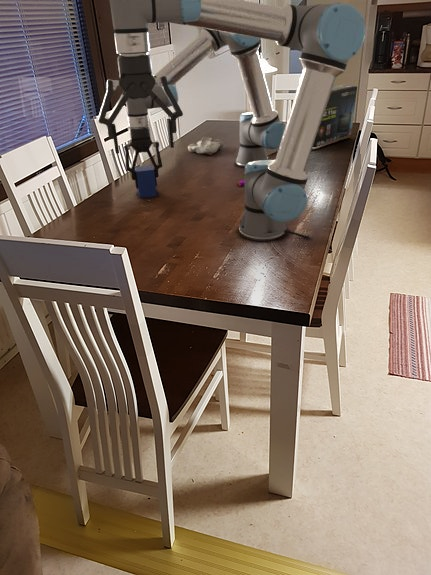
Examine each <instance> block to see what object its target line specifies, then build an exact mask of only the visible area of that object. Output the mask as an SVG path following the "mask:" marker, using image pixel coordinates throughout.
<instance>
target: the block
mask: <svg viewBox="0 0 431 575" xmlns="http://www.w3.org/2000/svg"><path fill="white" fill-rule="evenodd" d="M153 168H154V166H153V164H147V165H139V166H135V170H134V171H136V174H137V182H138V189H136V190H137V194H138V197H139V199H144V198H152V197H157V196H158V193H157V192H158V191H157V186H156V183H155V174H154V169H153Z"/></svg>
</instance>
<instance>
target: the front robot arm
mask: <svg viewBox="0 0 431 575" xmlns="http://www.w3.org/2000/svg"><path fill="white" fill-rule="evenodd" d="M109 6H110V10H111V11H110V13H111V20H112V26H113V32H114V34H113V35H114V43H115V50H116V51H115V52H116V54H119V55H118V56H117V65H118V72H119V79H118V80H115V79H111V78H107V80H106V91H105V94H104V97H103V102H102V104H101V107H100V111H99V114H98V118H97V121H98V123H99V124H102V125H105V126H106V130H107V136H108V138H109V140H113V145H114V151H115V154H116V155H117V154H118V155H119V154H120V149H119V142H118V135H117V134H118V133H117V128H116V124H115V123H114V122H115V120H116V118H117V117H118V115H119V114H120V112H121V110H122V109H123V107H124V105H125V104H126V102H127V100H128V98H131V99H138V98H142V99H144V98H147V97H148V96H150V97H151V98H152V99H153V100H154V101H155V102H156V103H157V104H158V105H159V106H160V107H161V108H160V109H161V110H162V111H163V112H164V113H165V114H166V115H167V116H168V117H169V118H166V125H167V126H166V127H167V138H168V146H169V147H170V149H173V148H175V143H174V134H177V119H178V118H180V117H183V115H184V113H183V111H182V109H181V107H180V105H179V103H178V102H176V100H175V98H174V96H173V94H172V93H171V91H170V89H169V87H168V83H167V78H166V77H165V76H163V75H161V76H160V77H157V78H154V77H153V76H154V74H153V65H152V57H151V55H150V54H149V53H150V52H151V45H150V35H149V24H158V23H159V24H160V23H161V24H163V23H169V24H175V25H181V26H183V25H184V26H187V27H194V28H200V29H203V28H205V29H211V30H217V31H223V32H228V33H234V34H240V35H246V36H251V37H257V38H260V39H262V40H269V41H275V43H276V44H277V46H279V47H285V48H289V49H292V50H296V51H298V52H301V53H300V57H299V61H300V63H301V65H302V72H301V75H300V77H299V80H298V81H299V82H298V85H297V88H296V90H295V94H294V98H293V101H292V105H291V106H290V111H289V114H288V117H287V120H286V124H285V126H286V127H285V130H284V133H283V137H282V140H281V143H280V147H278V148H279V150H278V149H277V150H278V152H277V153H276V157H275V159H268V160H259V161H253V162H249V163H247V164H246V166H245V168H244V172H243V176H244V181H245V186H244V211H243V213H242V216H241V219H240V220H239V223H238V225H239V226H238V232H239V235H240V236H241V237H242V238H244V239H247V240H250V241H254V242H271V241H277V240H279V239H281V238H283V237H285V235H286V234H290V235H294V236H297V237H300V238H303V239H309V238H310V236H309V235H306V234H301V233H299V232H295V231H292V230H289V229H287V223H288V222H292V221H293V220H295V219H297V218H299V217H300V216H301V215H302V214H303V212H304V211H305V210H306V207H307V203H308V196H307V193H306V190H305V188H306V185H307V182H308V179H309V175H308V174H307V172H306V168H307V165H308V161H309V159H310V156H311V153H312V151H313V150H312V147H313V144H314V141H315V138H316V135H317V132H318V129H319V126H320V124H321V121H322V118H323V115H324V112H325V109H326V106H327V103H328V100H329V97H330V94H331V91H332V88H333V86H335V82H336V79H337V77H339V76H341V75H342V74H343V73H345V72H346V68H347V66H348V63H349V60H350V59H352V58H353V57H354V56H355V55H357V54H358V53H359V52H360V50H361V49H362V46H363V44H364V42H365V37H366V23H365V20H364V17H363V15H362V13H361V12H360V10H359V9H358V8H357V7H355V6H353V5H351V4H349V3H344V2H343V3H342V2H333V3H325V4H321V3H320V4H311V5H294V4H289V3H286V4H284V5H283V6H282V7H280V6H275V5H270V4H263V3H260V2H259V3H258V2H253V1H249V0H109ZM155 83H158V85H159V86H160V87H162V88H163V90H164V92H165V94H166V96H167V97H168V99H169V101H170V103H171V105H172V106H171V107H172V108H173V110H174V111H171V109H170V107H167V106H166V105H165V104H164V103H163V102H162V101H161V100H160V99H159V98H158V97H157V95H156V94H155V93H154V92H153V91H152V89H153V87H154V85H155ZM118 87H120V89H122V91H123V92H122V94H121V95H120V97H119V99H118V100H117V102H116V104H115V105H114V107H113V108H112V110H111V111H110V114H109V115H108V116H107V113H108V109H109V106H110V104H111V101H112V97H113V93H114V91H116V90H117V88H118ZM106 116H107V117H106Z"/></svg>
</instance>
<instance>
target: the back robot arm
mask: <svg viewBox="0 0 431 575" xmlns="http://www.w3.org/2000/svg"><path fill="white" fill-rule="evenodd" d="M260 39H261V38H257V37H251V36H246V35H240V34H234V33H228V32H223V31H217V30H211V29H205V28H201V29H200V34H199V35H198V36H197V37H196V38H194V40H192V41H191V42H190V43H189V44H188V45H187V46H185V48H183V49H182V50H181V51H180V52H179V53H178V54H176V55H175V56H174V57H173V58H172V59H171V60H170V61H168V62H167V63H166V64H165V65H164V66H163V67H162V68H161V69H160V70H159V71H157V72H156V73H154V74H153V77H154V78H157V77H160V76H161V75H163V76H165V77H166V78H167V83H168V87H169V89H170V91H171V93H172V94H173V96H174V98H175V100H176V102H177V103H178V102H179V93H178V89H177V86H176V84H178V83H179V81H180V80H182V79H183V78H184V77H185V76H187V74H188V73H189V72H191V71H192V70H193V69H194V68H195V67H196V66H198V65H199V64H200V63H201V62H202V61H203V60H205V59H206V58H207V57H209V55H211V53H216V52H218V51H219V50H220V49H221V48H223V47H227V46H228V48H229V52H230V54H231V56H232V57H233V58H235V59H236V61H237V65H238V69H239V72H240V75H241V79H242V82H243V85H244V89H245V92H246V95H247V99H248V102H249V107H250V110H251V112H244V113H241V114H240V116H239V119H238V121H239V122H238V124H239V149H238V153H237V157H236V159H235V165H236V166H237V167H240V168H244V169H245V166H246V164H247V163H249V162H253V161H259V160H269V157H270V156H273V155H275V154H277V153H278V151H277V149H278V148H279V147H280V143H281V140H282V137H283V133H284V130H285V127H286V124H285V123H284V122H283V121H281V120H280V116H279V112H278V111H277V110H275V109H274V108H273V105H272V101H271V97H270V92H269V88H268V85H267V81H266V78H265V73H264V69H263V65H262V62H261V57H260V55H259V48H260V47H261V42H260ZM152 91H153V92H154V93H155V94H156V95H157V97H158V98H159V99H160V100H161V101H162V102H163V103H164V104H165V105H166V106H167V107H168V108H170V107H173V106H172V105H171V103H170V101H169V99H168V97H167V96H166V94H165V92H164V90H163V88H162V87H160V86H159V85H158V83H155V85H154V87H153V89H152ZM125 104H126V105H125V106H126V111H127V121H128V127H129V129H128V130H129V138H130V141H129V143H124V144H123V145H122V147H123V149H124V154H125V155H124V158H125V160H124V161H125V162H124V163H125V170H126V172H130V174H131V175H130V176H131V180H132V181H134V185H135V189H136V190H137V189H138V182H137V174H136V171H135V167H136V166H137V161H138V156H139V154H141V153H146V154H147V155H148V157H149V159H150V160H149V161H150V162H151V165H152V167H153V169H154V174H155V183H156V187H158V181H157V178H159V175H160V174H159V169H161V168H163V162H162V158H161V153H160V142H159V141H158V140H152V138H151V129H150V127H149V126H150V120H149V110H151V109H162V108H161V107H160V106H159V105H158V104H157V103H156V102H155V101H154V100H153V99H152V98H151V97H150V96H148V97H147V98H144V99H142V98H138V99H131V98H128V100H127V102H126V103H125ZM152 146H153V148H154V150H155V156H156V160H157V163H156V161H155V158H154V156H153V154H152V152H151V150H150V148H151V147H152ZM131 148H132V149H133V150H134V151H133V155H132V160H131V164H130V150H131ZM266 149H269V150H275V151H276V152H275V151H273V152H274V153H273V152H271V153H272V154H271V153H269V154H270V155H268V156H267V154H268V153H267V150H266Z"/></svg>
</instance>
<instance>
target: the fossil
mask: <svg viewBox="0 0 431 575" xmlns="http://www.w3.org/2000/svg"><path fill="white" fill-rule="evenodd" d="M223 147H224V142H223V141H222V140H221V139H219V138H216V139H213V138H212V137H211V136H206V135H205V136H202V138H201V139H200V140H199V141H197V142H196V143H194V142H193V143H191V144H189V145H188V146H187V149H188V151H189V152H191V153H197V154H206V155H208V156H212V155H213V154H215V153H217V151H218V150H219V149H220V148H223Z"/></svg>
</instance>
